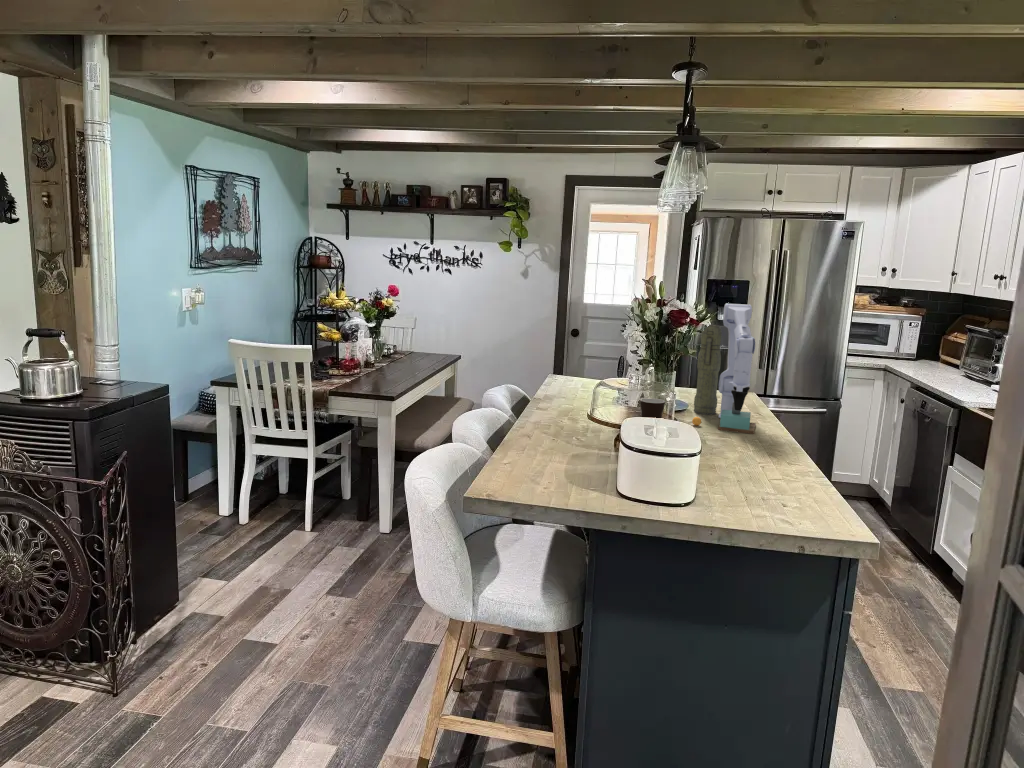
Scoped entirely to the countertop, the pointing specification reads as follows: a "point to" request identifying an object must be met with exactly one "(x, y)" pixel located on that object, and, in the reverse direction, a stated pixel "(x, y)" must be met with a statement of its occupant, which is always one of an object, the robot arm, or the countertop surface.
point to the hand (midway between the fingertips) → (738, 408)
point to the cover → (735, 419)
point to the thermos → (708, 370)
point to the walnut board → (750, 431)
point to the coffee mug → (652, 407)
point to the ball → (696, 421)
